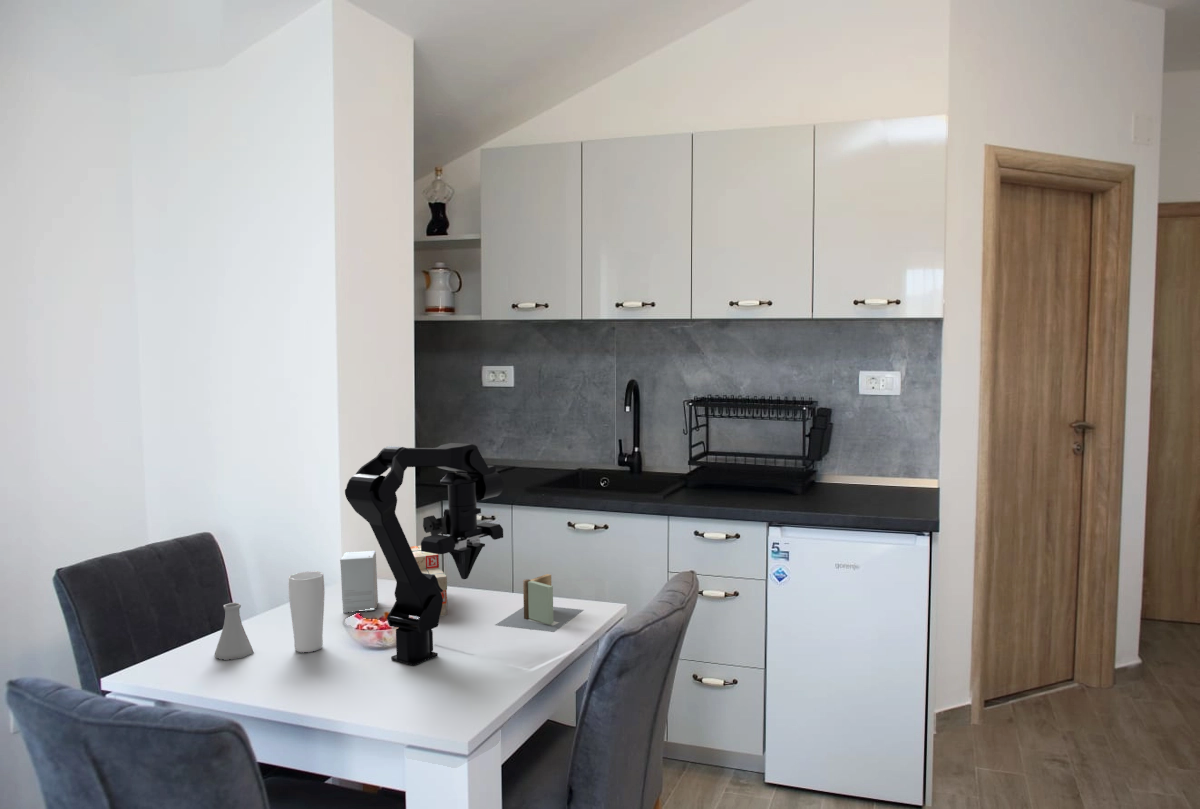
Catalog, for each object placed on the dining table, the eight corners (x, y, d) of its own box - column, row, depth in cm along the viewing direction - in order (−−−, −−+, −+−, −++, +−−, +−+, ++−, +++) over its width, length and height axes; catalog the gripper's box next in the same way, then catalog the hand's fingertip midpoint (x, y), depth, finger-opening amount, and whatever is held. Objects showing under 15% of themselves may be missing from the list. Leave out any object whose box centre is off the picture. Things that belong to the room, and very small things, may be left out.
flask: (208, 655, 167) (205, 605, 167) (244, 645, 172) (242, 597, 172) (223, 664, 162) (221, 612, 162) (260, 653, 167) (258, 604, 167)
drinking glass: (298, 657, 165) (295, 581, 164) (285, 648, 170) (282, 575, 169) (332, 649, 169) (329, 575, 168) (318, 640, 174) (315, 569, 173)
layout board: (554, 633, 176) (554, 631, 176) (494, 626, 181) (494, 624, 181) (583, 611, 191) (583, 609, 191) (528, 605, 196) (528, 603, 196)
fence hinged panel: (528, 617, 185) (527, 581, 184) (532, 616, 185) (532, 580, 185) (549, 624, 180) (548, 587, 179) (553, 623, 181) (552, 586, 180)
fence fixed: (528, 619, 185) (527, 581, 184) (522, 618, 186) (521, 580, 185) (552, 609, 192) (551, 573, 191) (547, 608, 193) (546, 572, 192)
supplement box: (378, 602, 201) (377, 549, 201) (374, 611, 194) (373, 557, 193) (346, 604, 200) (344, 551, 200) (341, 613, 193) (339, 558, 192)
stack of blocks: (448, 617, 189) (446, 562, 189) (419, 620, 187) (418, 565, 186) (431, 592, 209) (429, 543, 209) (405, 595, 207) (403, 546, 206)
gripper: (466, 494, 187) (468, 564, 188) (401, 507, 172) (403, 583, 172) (504, 498, 180) (505, 571, 181) (439, 512, 165) (441, 591, 166)
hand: (464, 578), depth 175 cm, fingers closed
